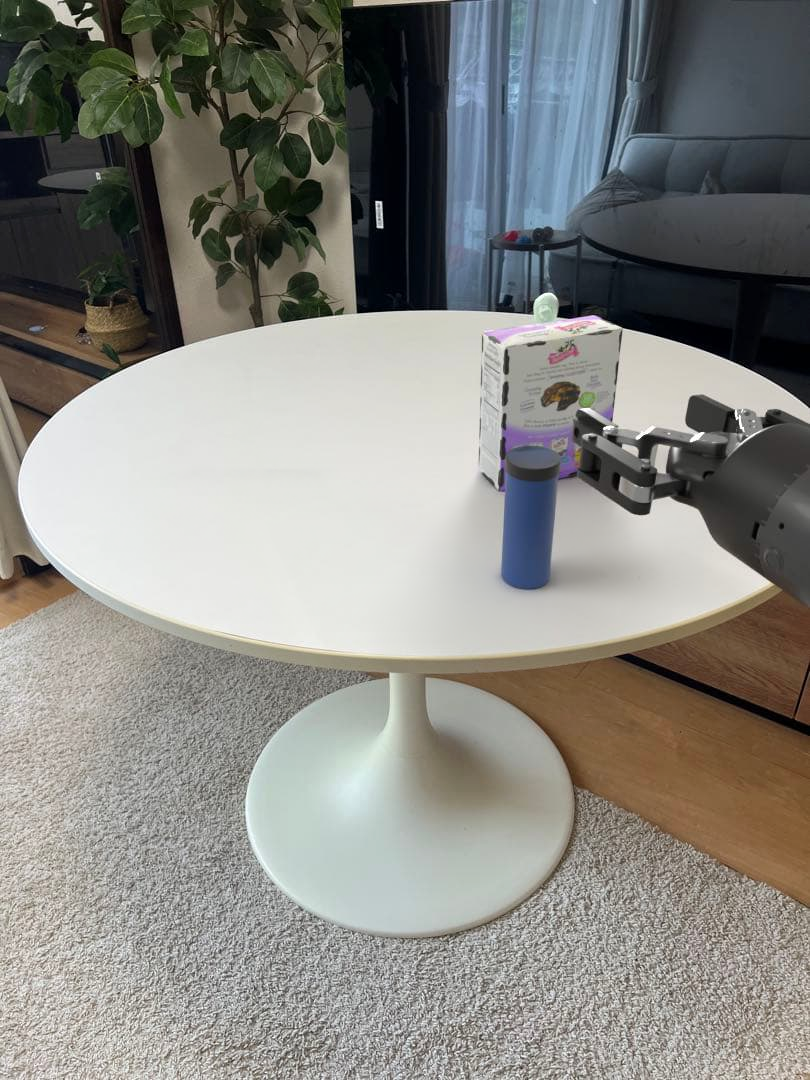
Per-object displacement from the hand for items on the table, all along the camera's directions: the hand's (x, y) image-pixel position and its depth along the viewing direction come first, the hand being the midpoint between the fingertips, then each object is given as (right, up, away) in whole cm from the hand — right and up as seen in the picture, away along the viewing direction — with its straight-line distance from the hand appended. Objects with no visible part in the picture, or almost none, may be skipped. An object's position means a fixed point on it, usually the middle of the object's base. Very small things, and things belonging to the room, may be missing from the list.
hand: (636, 415), depth 51 cm
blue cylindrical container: (-4, -11, +21) cm, 24 cm away
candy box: (+1, 0, +39) cm, 39 cm away
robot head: (+9, +27, +82) cm, 87 cm away
